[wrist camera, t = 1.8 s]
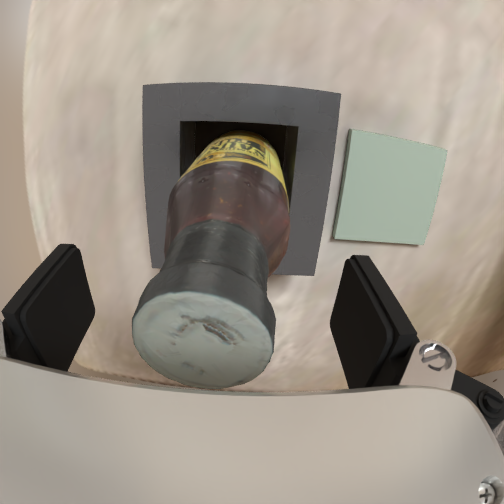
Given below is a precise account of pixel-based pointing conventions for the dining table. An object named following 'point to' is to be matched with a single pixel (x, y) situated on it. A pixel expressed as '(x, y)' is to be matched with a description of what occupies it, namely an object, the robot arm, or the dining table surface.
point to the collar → (254, 111)
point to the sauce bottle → (217, 267)
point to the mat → (388, 189)
